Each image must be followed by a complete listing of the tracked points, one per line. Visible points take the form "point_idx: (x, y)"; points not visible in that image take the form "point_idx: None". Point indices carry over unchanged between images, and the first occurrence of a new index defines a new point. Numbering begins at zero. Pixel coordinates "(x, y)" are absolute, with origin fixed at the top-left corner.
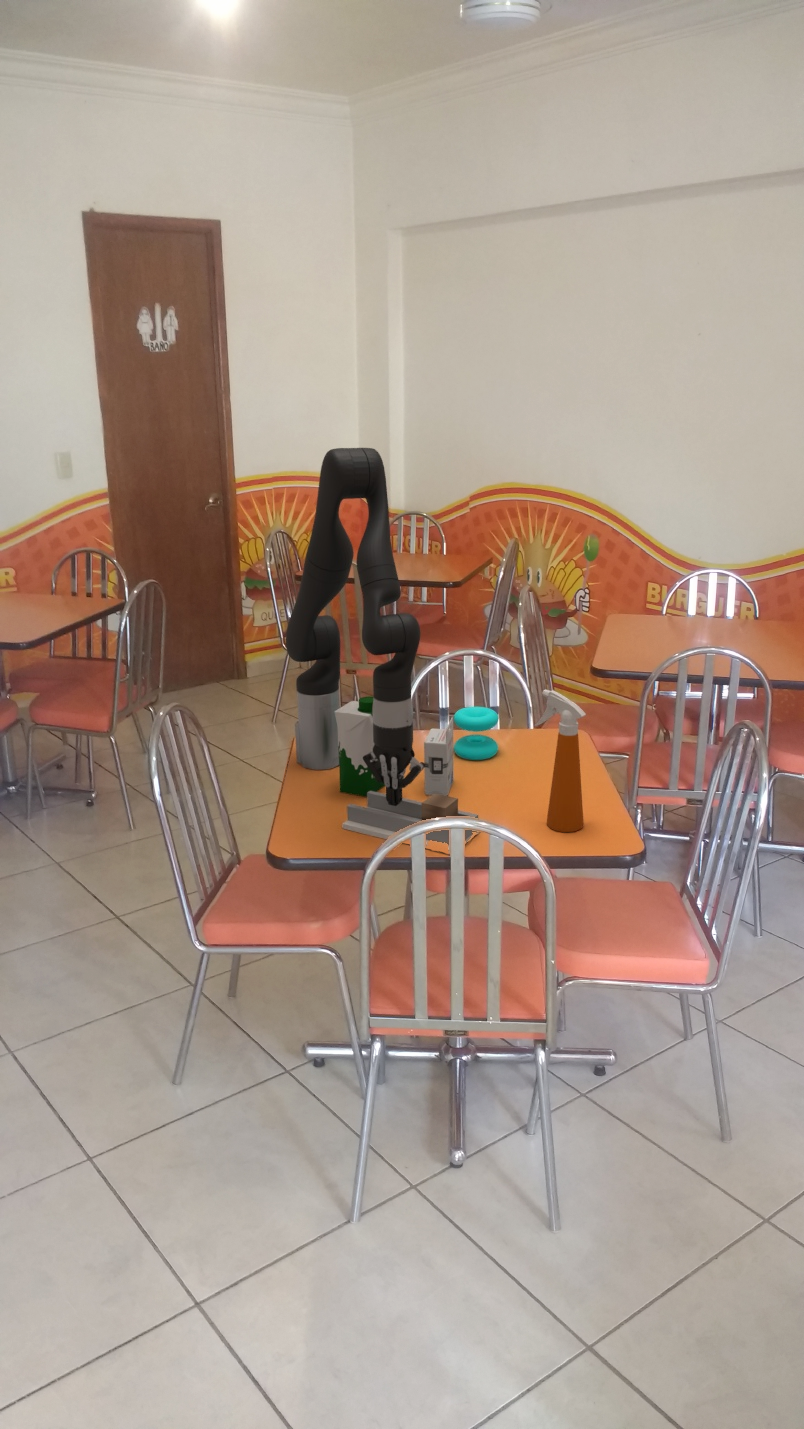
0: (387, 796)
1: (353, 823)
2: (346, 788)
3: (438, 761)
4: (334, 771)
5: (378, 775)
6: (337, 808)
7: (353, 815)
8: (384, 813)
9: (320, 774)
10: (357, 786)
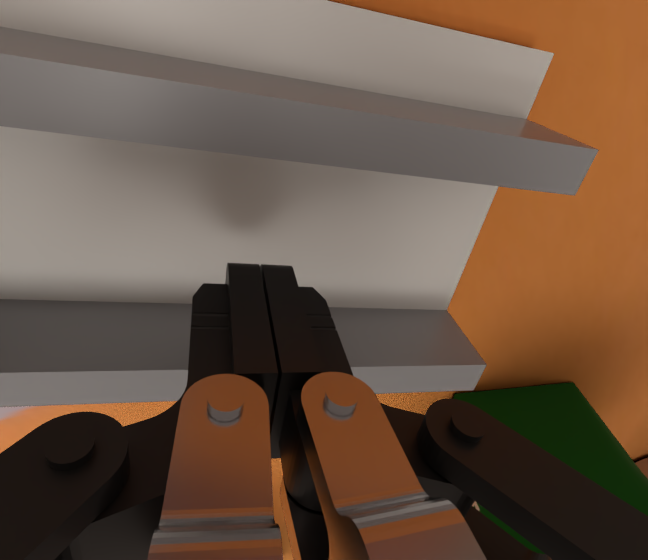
0: (317, 316)
1: (483, 85)
2: (561, 399)
3: None
4: None
5: (499, 481)
6: (574, 266)
7: (511, 124)
8: (265, 124)
9: (637, 442)
10: (528, 418)
